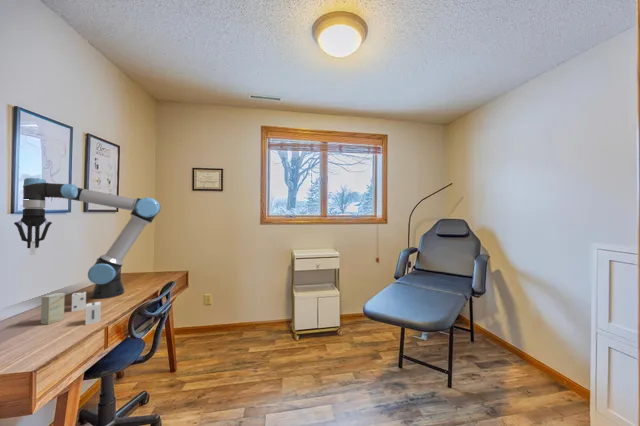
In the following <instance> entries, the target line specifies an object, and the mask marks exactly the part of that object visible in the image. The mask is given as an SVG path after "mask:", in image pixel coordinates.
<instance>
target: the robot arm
mask: <svg viewBox="0 0 640 426" xmlns="http://www.w3.org/2000/svg"><path fill="white" fill-rule="evenodd" d="M22 188H23V189H22V190H23V191H22V193H23V194H22V195H23V196H22V197H23V198H22V207H23V209H22V217H21V219H20V220H18V221H16V222H14V223H13V224H14V225H15V227H17V231H18V234H19V236H20V238H21V241H23V242H26V244H27V249H30V252H29V255H30V256H35V255H37V249H38V248H40V241H44V240H45V239H46V237H47V233H48V231H49V228H50V226H51V225H52V224H53V222H52V221H50V220H47V218H46V209H45V208H46V198H53V199H56V198H57V199H66V200H71V201H78V202H83V203H88V204H94V205H99V206H104V207H105V206H106V207H111V208H116V209H120V210H121V209H122V210H127V211H131V212H130V213H129V214H130V217H131V218H130V219H129V220H128V221H127V223H126V224H125V226H124V227H123V229H122V230H121V231H120V233H119V234H118V236H117V237H116V239H114V241H113V243H112V245H111V246H110V247H109V249H108V250H107V252H106V253H105V254H102V255H100V256H99V257H98V258H96V261H95V263H94V264H93V265H92V266H91V267H90V268H89V270H88V272H87V278H88V279H89V282H91V283H93V284H95V285H94V288H93V290H92V292H91V298H92V299H106V298H113V297H117V296H120V295H122V294H124V293H125V288H124V285H123V283H122V267H123V265H124V261H123V260H124V258H125V257H126V256H127V254H128V253H129V251H130V250H131V248H132V246H133V245H134V244H135V242H136V241H137V239H138V238H139V237H140V235H141V233H143V231H144V229H145V227H146V226H147V225H148V224H152V222H153V221H154V220H155V217H156V216H157V215H158V214H159V213H160V211H161V205H160V203H159V202H158V200H157V199H155V198H152V197H143V198H139V197H137V198H132V197H127V196H122V195H121V196H120V195H115V194H111V193H106V192H100V191H96V190H92V189H91V190H90V189H85V188H82V187H81V188H80V187H78V186H77V185H75V184H70V183H50V182H46V179H45V178H37V177H36V178H35V177H27V178H24V179H23V186H22ZM23 199H29V200H23ZM23 224H24V225H25V226H26V228H27V237H26V233H25V231H24V228H23ZM43 224H45V226H44V228H43V232H42V234H41V236H40V229H41V226H42V225H43ZM33 227H34V228H35V229H34V234H35V235H34V241H33Z"/></svg>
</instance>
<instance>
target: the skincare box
mask: <svg viewBox="0 0 640 426" xmlns="http://www.w3.org/2000/svg"><path fill="white" fill-rule="evenodd" d="M65 295H66V293H64V292H56V293H52V294H46V295H44V296H43V295H42V296H41V306H40V307H41V308H40V324H41V325H42V324H43V325H50V324H53V323H56V322H60V321H63V320H64V319H65V298H66V297H65Z"/></svg>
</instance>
